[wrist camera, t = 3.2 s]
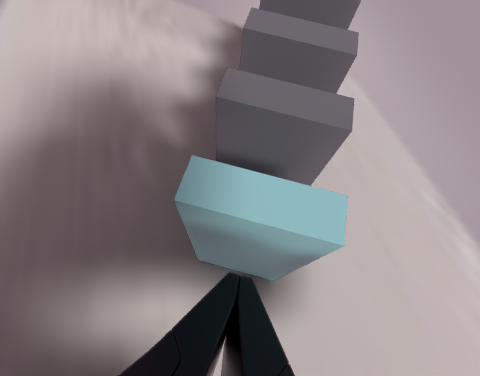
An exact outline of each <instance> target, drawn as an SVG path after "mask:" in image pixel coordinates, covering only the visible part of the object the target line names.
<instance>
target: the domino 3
mask: <svg viewBox="0 0 480 376" xmlns="http://www.w3.org/2000/svg"><path fill="white" fill-rule="evenodd" d="M358 34H359V33H358V32H354V31H349V30H345V29H341V28H337V27H333V26H328V25H324V24H320V23H316V22H312V21H307V20H303V19H299V18H295V17H290V16H286V15H282V14H278V13H273V12H269V11H265V10H261V9H256V8H251V11H250V13H249V16H248V18H247V20H246V23H245V25H244V28H243V38H242V49H241V60H240V70H241V71H245V72H249V73H253V74H257V75H261V76H265V77H269V78H273V79H277V80H281V81H285V82H289V83H293V84H298V85H302V86H306V87H310V88H314V89H318V90H322V91H326V92H330V93H334V94H336V93H337V91H338V89H339V87H340V85H341V83H342V82H343V80H344V78H345V76H346V74H347V72H348V71H349V68H350V67H351V65H352V63H353V62H354V60H355V58H356V56H357V48H358Z"/></svg>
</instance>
